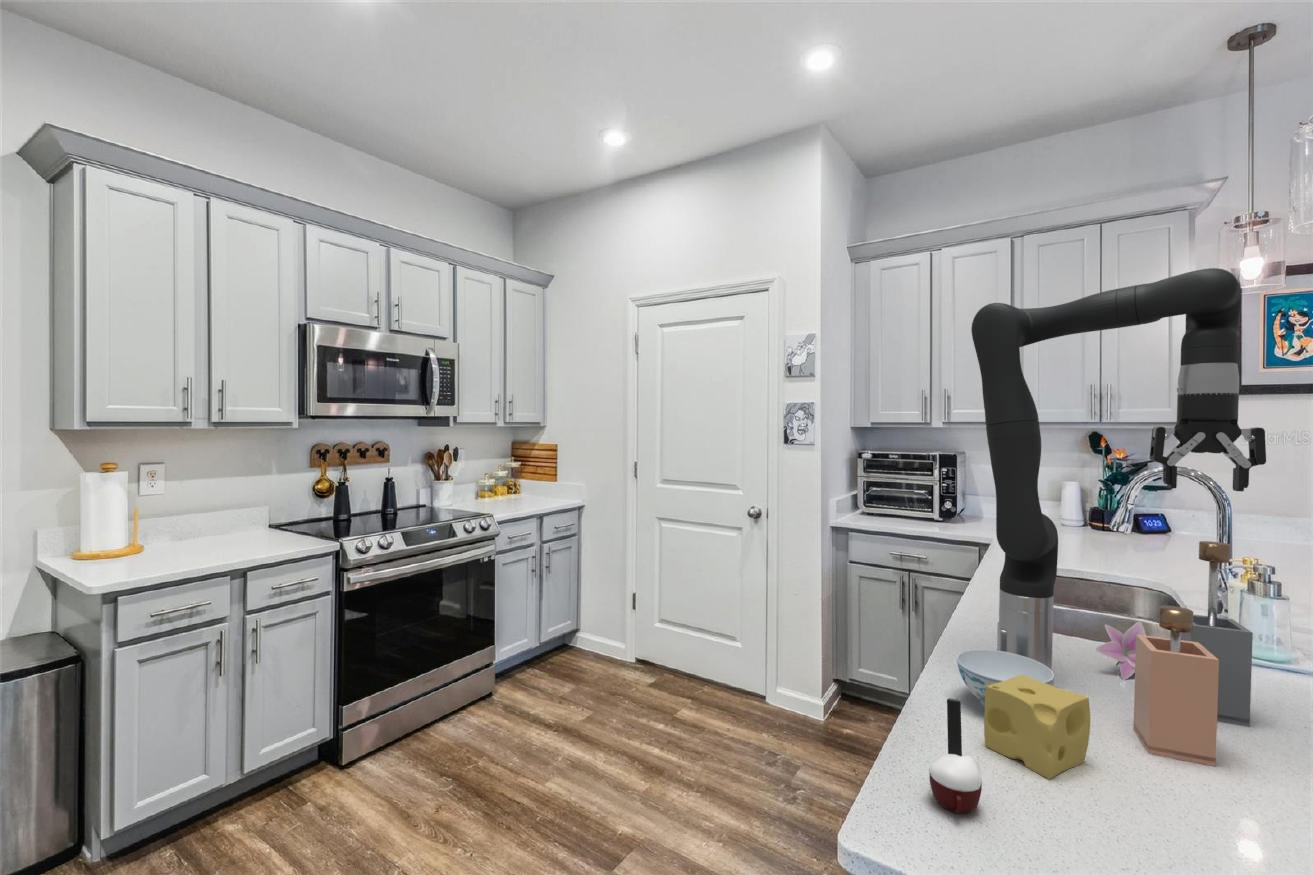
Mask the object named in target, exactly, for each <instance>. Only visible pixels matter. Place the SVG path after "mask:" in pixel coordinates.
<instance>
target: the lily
mask: <svg viewBox="0 0 1313 875" xmlns="http://www.w3.org/2000/svg"><path fill="white" fill-rule="evenodd" d="M1104 628H1105V630H1106V633H1107V634H1108V636H1109V639H1110V641H1108V642H1105V643H1103V644H1100V645H1099V646H1097V647H1095V649H1094V651H1095V652H1097V653H1099V655H1103V656H1105V657H1107V658H1111V659H1113V660H1115V661H1117V662H1116V664H1115V667H1118V666H1119V671H1120V676H1121V678H1122V680H1127V679H1129V678H1130V677H1131V676H1133V674H1135V655H1136V634H1137V635H1145V636H1147V634H1146V631H1145V627H1144V625H1143V623H1142V622H1141V621H1137V622H1136V623H1134V624H1133V625H1132V626H1131V627H1130V628H1128V629H1126V631H1125V632H1124V633H1123V632H1122V631H1120V630H1118V629H1116V628H1114V627H1112V626H1110V625H1108V624H1104Z"/></svg>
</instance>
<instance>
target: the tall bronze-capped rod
mask: <svg viewBox="0 0 1313 875" xmlns="http://www.w3.org/2000/svg"><path fill="white" fill-rule="evenodd" d="M1198 559H1199V560H1201V561H1204V562H1208V563H1209V564H1208V565H1209V566H1208V593H1207V594H1208V595H1207V598H1208V599H1207V616H1208V622H1207V626H1213V627H1217V617H1218V599H1219V598H1218V595H1219V593H1218V592H1219V590H1218V589H1219V563H1220V564H1229V563H1230V561H1231V560H1230V559H1231V544H1228V543H1226V542H1219V541H1210V540H1208V541H1207V540H1203V541H1202V540H1200V541H1198Z"/></svg>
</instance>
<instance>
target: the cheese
mask: <svg viewBox="0 0 1313 875" xmlns="http://www.w3.org/2000/svg"><path fill="white" fill-rule="evenodd" d="M1090 709H1091V708H1090V698H1089V696H1086V695H1084V694H1081V693H1080V694H1079V693H1077V692H1074V691H1070V690H1066V689H1063V688H1060V687H1057V686H1054V685H1052V686H1051V685H1049V684H1046V683H1043V682H1040V681H1038V680H1035V679H1033V678H1030V677H1028V676H1025V675H1019V676H1016V677H1013V678H1010V679H1008V680H1005V681H1002V682H999V683H995V684H991V685H988V686H986V691H985V708H984V715H983V716H984V720H983V726H984V728H983V732H984V733H983V734H984V745H985V747H986V748H988V749H990V750H992V751H994V752H996V753H999V754H1000V755H1002V756H1004V757H1007V758H1009V759H1012V760H1018V761H1023V763H1024V765H1025V768H1027V769H1030V770H1031V771H1033V772H1035V773H1036V774H1039V775H1040V776H1042V777H1044V778H1045V779H1048V780H1051V779H1053V778H1054V777H1056V776H1057V775H1059V774H1061V773H1062V772H1064V771H1065V772H1066V771H1067V770H1068V769H1071V768H1073V767H1077V766H1078V765H1081V764H1084V763H1085V760H1086V755H1087V751H1088V746H1089V740H1090V734H1091V733H1090V730H1091V710H1090Z"/></svg>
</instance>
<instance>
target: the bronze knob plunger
mask: <svg viewBox="0 0 1313 875" xmlns="http://www.w3.org/2000/svg"><path fill="white" fill-rule="evenodd" d="M1158 611H1159V615H1158V617H1159V618H1158V620H1159V621H1158V626H1159V627H1160V628H1161V629H1164V630H1167V631H1170V633H1169V634H1170V635H1169V636H1170V637H1169V639H1170V651H1171V652H1178V653H1180V638H1181V632H1183V633H1191V632H1193V615H1194V611H1193V610H1192V609H1190V608H1186V607H1181V606H1176V605H1168V604H1167V605H1165V604H1164V605H1160V606H1159V610H1158Z"/></svg>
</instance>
